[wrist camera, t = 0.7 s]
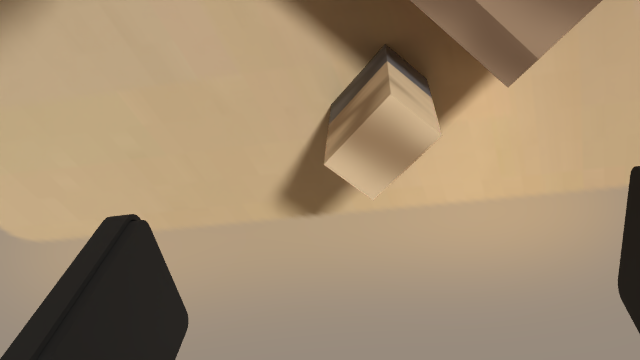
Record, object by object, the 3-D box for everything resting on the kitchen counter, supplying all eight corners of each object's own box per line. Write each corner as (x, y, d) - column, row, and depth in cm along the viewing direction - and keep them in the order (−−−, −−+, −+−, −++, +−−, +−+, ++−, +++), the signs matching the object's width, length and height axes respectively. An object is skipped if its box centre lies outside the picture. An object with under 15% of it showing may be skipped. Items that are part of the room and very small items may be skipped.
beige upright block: (371, 135, 41) (373, 200, 34) (331, 104, 40) (323, 164, 32) (426, 79, 39) (442, 135, 31) (385, 44, 37) (390, 93, 30)
